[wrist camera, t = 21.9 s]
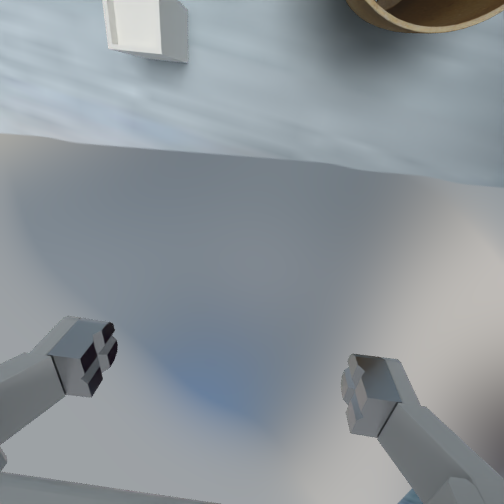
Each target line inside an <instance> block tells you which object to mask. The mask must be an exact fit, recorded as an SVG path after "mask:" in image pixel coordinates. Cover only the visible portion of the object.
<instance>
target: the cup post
mask: <svg viewBox="0 0 504 504" xmlns="http://www.w3.org/2000/svg"><path fill="white" fill-rule="evenodd" d="M102 2H103V10H104V18H105V25H106V33H107V41H108V49H111V50H115V51H119V52H123V53H126V54H130V55H134V56H138V57H142V58H145V59H152V60H162V61H172V62H181V63H188V9H186V8H185V7H184V6H183V5H182V4H181V3H180V2H179V1H178V0H102Z"/></svg>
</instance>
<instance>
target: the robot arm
mask: <svg viewBox="0 0 504 504" xmlns="http://www.w3.org/2000/svg"><path fill="white" fill-rule="evenodd" d="M114 331H115V329H114V325H113V323H111V322H105V321H98V320H93V319H86V318H78V317H72V316H67V317H64V318H63V319H62V320H61V321H60V322H59V323H58V324H57V325H56V326H55V327H54V328H53V329H52V330H51V331H50V332H49V333H48V334H47V335H46V336H45V337H44V338H43V339H42V340H41V341H40V342H39V343H38V344H37V345H36V346H35V348H34V349H33V350H32V351H31V352H30V353H23V354H21V355H18V356H16V357H14V358H12V359H10V360H8V361H6V362H4V363H2V364H0V445H1V444H2V443H4V442H5V441H6V440H8V439H9V438H10V437H12V436H13V435H14V434H16V433H17V432H18V431H20V430H21V429H22V428H23V427H25V426H26V425H27V424H29V423H30V422H31V421H33V420H34V419H36V418H37V417H38V416H40V415H41V414H42V413H44V412H45V411H46V410H48V409H49V408H50V407H52V406H53V405H54V404H55V403H57V402H58V401H60V400H61V399H62V398H64V397H65V395H74V396H82V397H92V396H93V394H94V393H95V391H96V389H97V388H98V386H99V385H100V383H101V381H102V380H103V377H102V372H104V371H105V370H107V369H109V368H110V367H111V365H112V363H113V362H114V360H115V357H116V354H117V346H118V344H117V340H116V339H115V338H114V337H113V336H112V334H113V333H114ZM348 365H349V367H348V368H347V369H345V370H344V372H343V375H342V380H341V390H342V396H343V400H344V401H345V402H346V403H347V404H348V408H347V411H346V415H347V420H348V425H349V429H350V433H352V434H358V435H364V436H370V437H376V438H378V441H379V442H380V444H381V445H382V447H383V448H384V449H385V451H386V452H387V453H388V455H389V456H390V457H391V459H392V460H393V462H394V463H395V465H396V466H397V467H398V469H399V470H400V471H401V473H402V474H403V476H404V477H405V478H406V480H407V481H408V483H409V484H410V485H411V487H412V488H413V490H414V491H415V492H416V494H417V495H418V496H419V498H420V499H421V501H422V502H423V503H424V504H504V478H502V477H501V476H500V475H499V474H498V473H497V472H496V471H495V470H494V469H493V468H492V467H490V466H489V465H488V464H487V463H486V462H485V461H484V460H483V459H482V458H481V457H480V456H479V455H478V454H476V453H475V452H474V451H473V450H472V449H471V448H470V447H469V446H468V445H467V444H466V443H465V442H463V441H462V440H461V439H460V438H459V437H458V436H457V435H456V434H455V433H454V432H453V431H452V430H450V429H449V428H448V427H447V426H446V425H445V424H444V423H443V422H442V421H441V420H439V418H438V417H436V416H435V415H434V414H433V413H432V412H431V411H430V410H429V409H428V408H427V407H424V406H421V405H420V403H419V400H418V398H417V396H416V394H415V392H414V390H413V388H412V385H411V383H410V381H409V379H408V377H407V375H406V373H405V370H404V368H403V366H402V364H401V362H400V361H399V360H398V359H390V358H381V357H375V356H367V355H359V354H351V355H350V357H349V359H348ZM6 464H7V457H6V455H5V454H4V452H3V451H2V449H1V448H0V504H218V503H212V502H204V501H198V500H191V499H184V498H178V497H171V496H164V495H157V494H150V493H143V492H137V491H129V490H122V489H115V488H109V487H102V486H95V485H88V484H82V483H75V482H67V481H61V480H54V479H47V478H40V477H33V476H26V475H20V474H13V473H6V472H1V470H2V469H3V468H4V466H5V465H6Z"/></svg>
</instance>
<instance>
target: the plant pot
mask: <svg viewBox="0 0 504 504" xmlns="http://www.w3.org/2000/svg"><path fill="white" fill-rule="evenodd" d="M346 2H347V3H348V5H349V6H350V8H351V9H352V10H353V11H354V12H355V13H356V14H357V15H358V16H359V17H360V18H362V19H363V20H365V21H366V22H368V23H370V24H372V25H374V26H377V27H379V28H383V29H386V30H390V31H395V32H404V33H444V32H450V31H456V30H460V29H464V28H467V27H470V26H473V25H476V24H478V23H480V22H483V21H485V20H487V19H489V18H491V17H493V16H495V15H497V14H498V13H500V12H502V11H503V10H504V0H378V1H377V2H376V1H375V0H346Z"/></svg>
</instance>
